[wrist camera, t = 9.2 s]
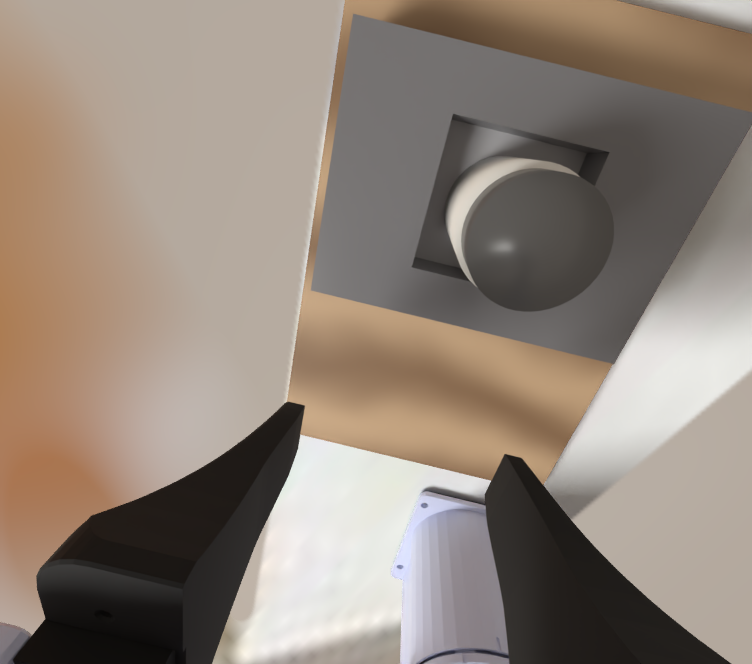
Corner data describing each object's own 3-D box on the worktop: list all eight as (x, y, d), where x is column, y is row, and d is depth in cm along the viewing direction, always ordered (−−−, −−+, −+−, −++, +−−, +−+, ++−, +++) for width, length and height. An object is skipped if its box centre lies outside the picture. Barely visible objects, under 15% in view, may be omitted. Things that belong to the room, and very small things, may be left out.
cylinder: (569, 205, 16) (656, 239, 10) (492, 278, 18) (528, 343, 12) (498, 131, 15) (549, 123, 9) (423, 216, 17) (428, 254, 11)
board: (534, 480, 25) (539, 492, 24) (287, 420, 25) (282, 430, 24) (772, 51, 15) (795, 44, 14) (358, -52, 15) (354, -65, 14)
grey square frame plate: (697, 121, 15) (757, 113, 13) (586, 335, 20) (613, 364, 17) (364, 39, 15) (352, 13, 13) (325, 272, 20) (310, 290, 17)
